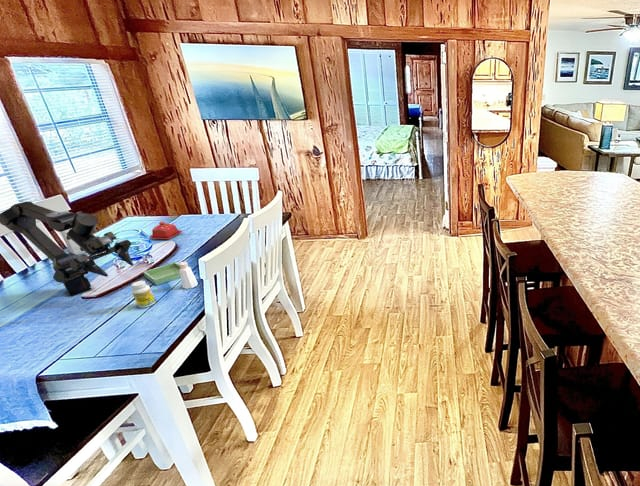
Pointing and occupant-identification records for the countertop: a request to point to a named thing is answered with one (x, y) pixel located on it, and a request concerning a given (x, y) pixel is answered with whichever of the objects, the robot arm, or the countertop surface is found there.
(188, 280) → the pepper shaker
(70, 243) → the rectangular carton
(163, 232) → the butter dish
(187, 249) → the countertop surface
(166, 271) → the green tray
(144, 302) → the supplement bottle
